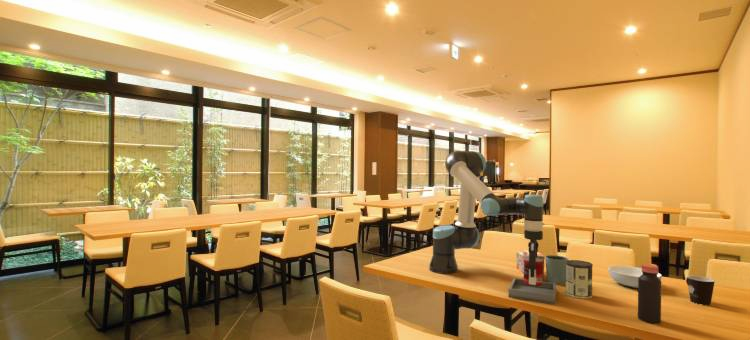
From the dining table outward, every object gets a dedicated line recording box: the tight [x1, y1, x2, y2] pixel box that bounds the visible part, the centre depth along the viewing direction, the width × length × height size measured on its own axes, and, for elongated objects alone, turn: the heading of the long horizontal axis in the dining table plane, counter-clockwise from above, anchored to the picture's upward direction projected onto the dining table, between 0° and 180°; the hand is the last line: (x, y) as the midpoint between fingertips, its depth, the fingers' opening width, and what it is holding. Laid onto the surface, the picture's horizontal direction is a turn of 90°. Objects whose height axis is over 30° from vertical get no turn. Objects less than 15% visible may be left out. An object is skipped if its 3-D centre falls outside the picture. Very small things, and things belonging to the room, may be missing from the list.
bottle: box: [637, 263, 662, 324], centre depth 135 cm, size 7×7×20 cm
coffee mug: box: [685, 275, 715, 306], centre depth 155 cm, size 12×9×10 cm
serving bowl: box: [608, 265, 662, 289], centre depth 176 cm, size 21×21×7 cm
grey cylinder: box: [544, 254, 569, 286], centre depth 181 cm, size 10×10×12 cm
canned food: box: [523, 256, 544, 286], centre depth 162 cm, size 8×8×11 cm
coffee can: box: [565, 259, 594, 300], centre depth 162 cm, size 10×10×14 cm
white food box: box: [516, 249, 545, 281], centre depth 194 cm, size 21×6×12 cm, turn 178°
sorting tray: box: [508, 277, 557, 305], centre depth 162 cm, size 18×18×4 cm
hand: (533, 281), depth 162 cm, fingers closed on canned food, 8 cm apart
